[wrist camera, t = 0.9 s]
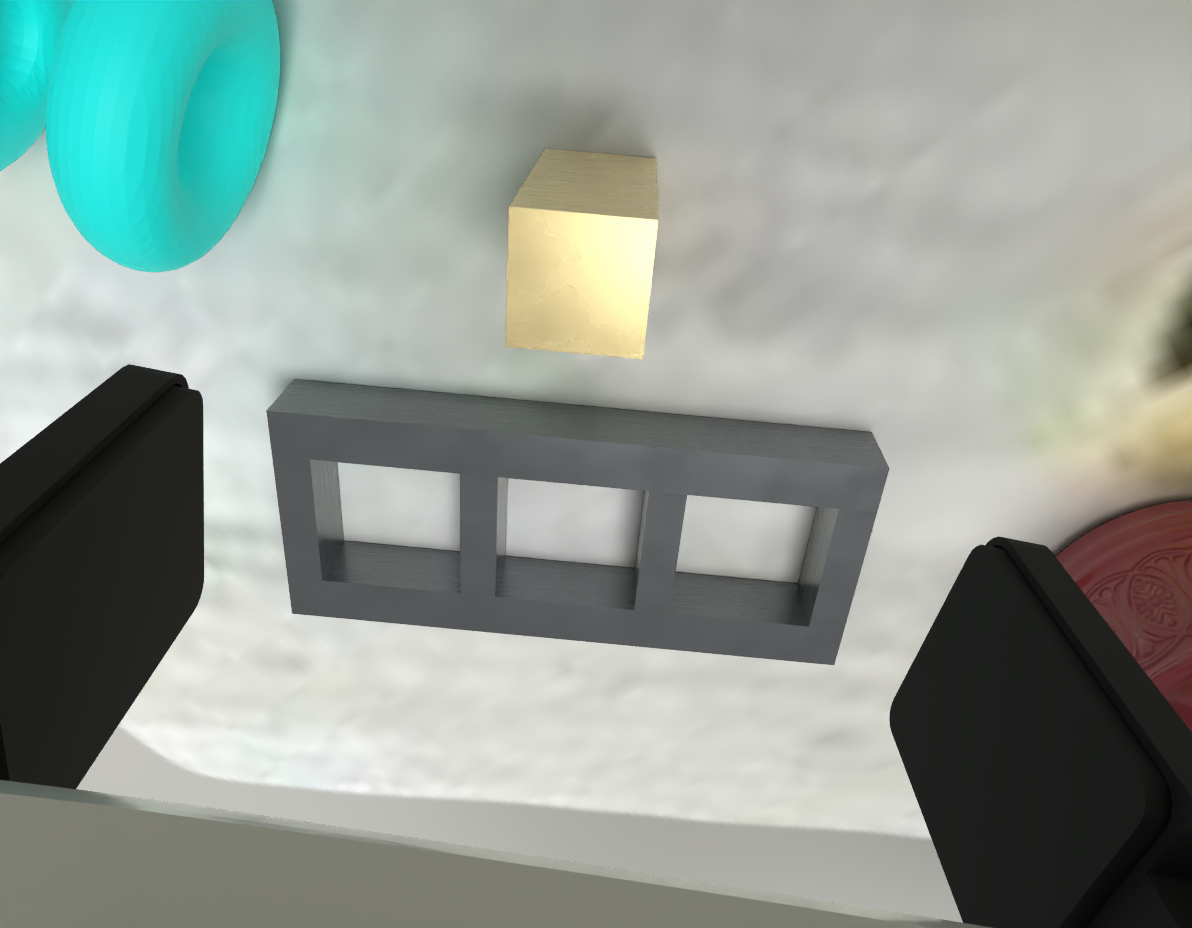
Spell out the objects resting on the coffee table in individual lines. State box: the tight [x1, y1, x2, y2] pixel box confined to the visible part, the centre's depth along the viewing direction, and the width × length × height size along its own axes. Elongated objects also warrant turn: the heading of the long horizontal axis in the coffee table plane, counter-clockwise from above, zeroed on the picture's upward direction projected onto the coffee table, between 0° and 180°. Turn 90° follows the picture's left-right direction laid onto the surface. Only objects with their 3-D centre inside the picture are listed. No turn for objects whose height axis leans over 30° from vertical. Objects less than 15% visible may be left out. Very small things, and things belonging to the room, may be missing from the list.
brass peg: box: [505, 148, 658, 359], centre depth 28 cm, size 4×4×9 cm
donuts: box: [0, 0, 280, 272], centre depth 26 cm, size 10×10×10 cm
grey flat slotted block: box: [267, 379, 889, 665], centre depth 37 cm, size 24×10×3 cm, turn 86°
